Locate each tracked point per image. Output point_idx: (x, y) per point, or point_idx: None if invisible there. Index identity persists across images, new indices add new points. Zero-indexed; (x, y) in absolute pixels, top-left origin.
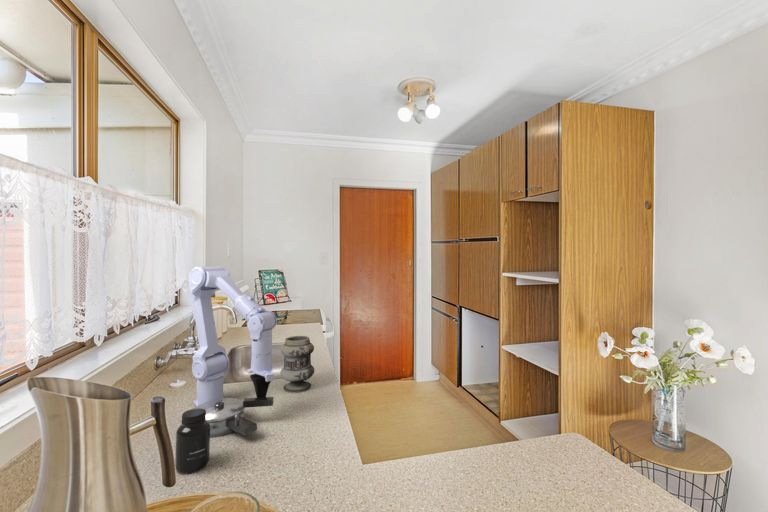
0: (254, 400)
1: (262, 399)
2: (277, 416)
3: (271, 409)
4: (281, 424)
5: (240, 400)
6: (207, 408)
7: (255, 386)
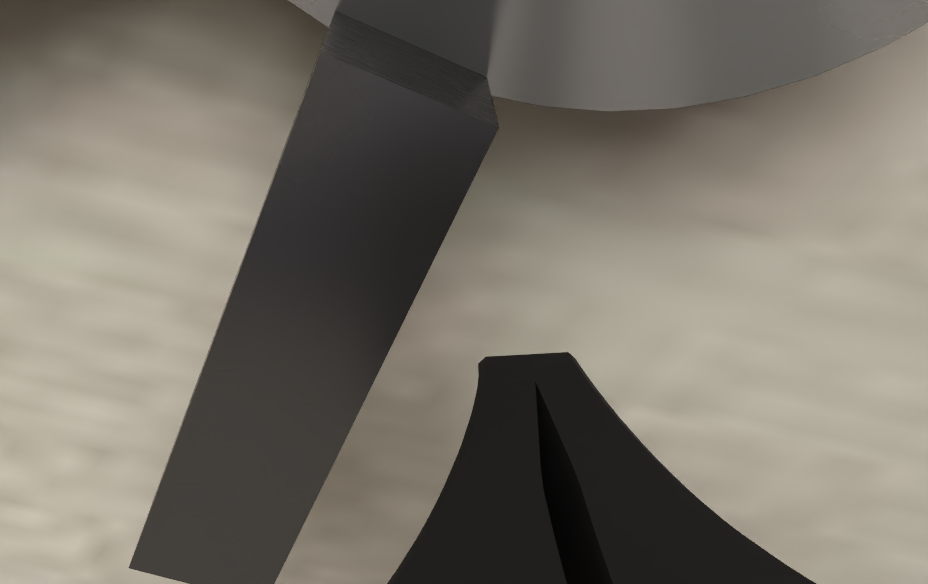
0: (238, 293)
1: (221, 432)
2: (384, 407)
3: (635, 400)
4: (130, 389)
5: (783, 55)
6: None
7: (587, 520)
